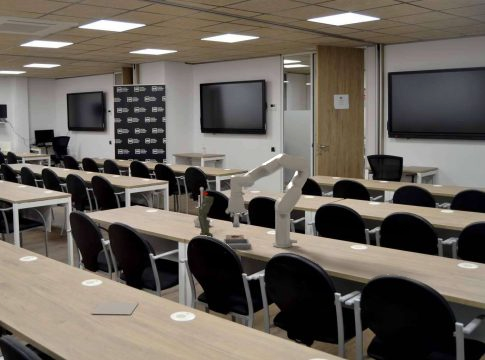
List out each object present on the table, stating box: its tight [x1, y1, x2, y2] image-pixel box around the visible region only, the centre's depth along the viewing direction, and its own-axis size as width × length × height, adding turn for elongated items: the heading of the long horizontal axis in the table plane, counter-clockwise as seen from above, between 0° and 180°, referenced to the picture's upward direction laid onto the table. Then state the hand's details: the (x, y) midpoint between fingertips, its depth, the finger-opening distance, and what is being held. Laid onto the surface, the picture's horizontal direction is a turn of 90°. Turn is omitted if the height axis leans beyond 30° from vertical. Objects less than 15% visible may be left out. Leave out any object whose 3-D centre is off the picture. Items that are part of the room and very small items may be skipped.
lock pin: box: [232, 213, 241, 228], centre depth 336 cm, size 4×4×8 cm
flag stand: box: [193, 186, 211, 228], centre depth 402 cm, size 13×13×30 cm
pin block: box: [225, 234, 246, 239], centre depth 355 cm, size 12×12×2 cm
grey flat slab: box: [91, 301, 139, 315], centre depth 222 cm, size 23×25×1 cm
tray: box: [223, 238, 251, 250], centre depth 338 cm, size 16×16×3 cm
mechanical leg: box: [197, 195, 214, 237], centre depth 363 cm, size 14×7×30 cm, turn 143°
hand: (236, 222), depth 336 cm, fingers closed on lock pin, 4 cm apart
